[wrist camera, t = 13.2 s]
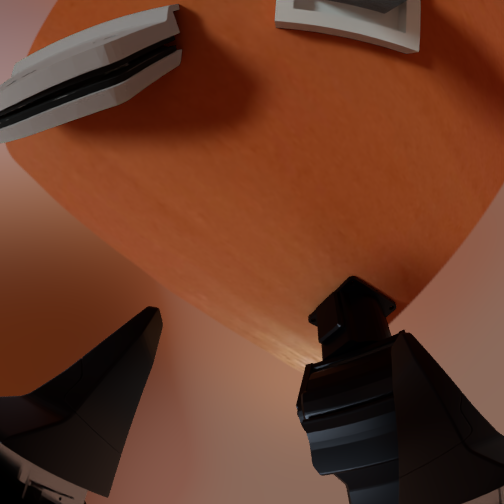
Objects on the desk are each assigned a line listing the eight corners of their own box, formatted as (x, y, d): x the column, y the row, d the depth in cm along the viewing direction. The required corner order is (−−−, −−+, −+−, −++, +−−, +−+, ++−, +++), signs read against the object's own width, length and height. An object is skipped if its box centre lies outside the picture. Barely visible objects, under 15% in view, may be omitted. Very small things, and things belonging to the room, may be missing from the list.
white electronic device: (184, 2, 13) (107, 23, 7) (190, 58, 17) (128, 115, 11) (24, 58, 15) (-52, 113, 9) (36, 96, 18) (-31, 159, 12)
